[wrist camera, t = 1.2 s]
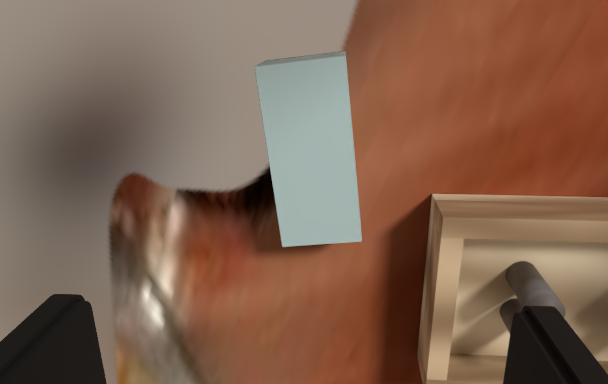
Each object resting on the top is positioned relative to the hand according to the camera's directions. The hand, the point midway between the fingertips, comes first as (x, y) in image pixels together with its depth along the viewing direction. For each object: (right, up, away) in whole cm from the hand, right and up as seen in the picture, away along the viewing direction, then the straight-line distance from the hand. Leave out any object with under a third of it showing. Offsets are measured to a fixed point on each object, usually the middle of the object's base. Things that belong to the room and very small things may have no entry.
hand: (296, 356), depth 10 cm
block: (+1, +7, +17) cm, 19 cm away
